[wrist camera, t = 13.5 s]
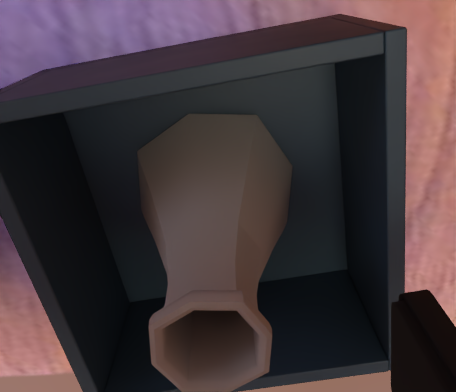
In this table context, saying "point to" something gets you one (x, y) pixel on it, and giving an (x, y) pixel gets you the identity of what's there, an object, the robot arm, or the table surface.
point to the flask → (213, 245)
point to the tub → (298, 202)
